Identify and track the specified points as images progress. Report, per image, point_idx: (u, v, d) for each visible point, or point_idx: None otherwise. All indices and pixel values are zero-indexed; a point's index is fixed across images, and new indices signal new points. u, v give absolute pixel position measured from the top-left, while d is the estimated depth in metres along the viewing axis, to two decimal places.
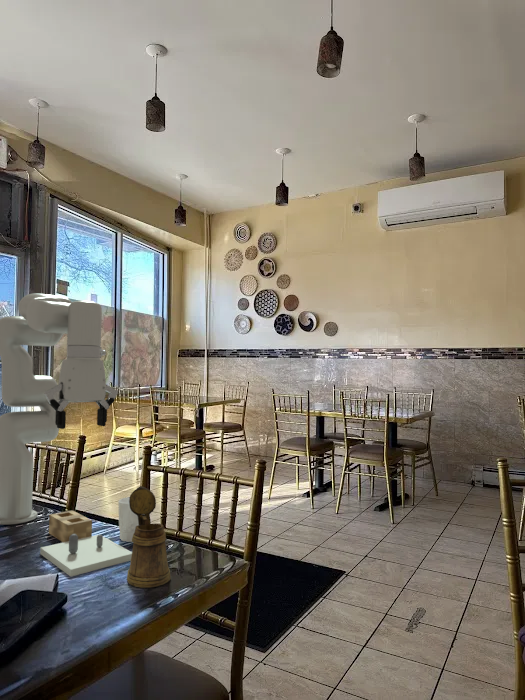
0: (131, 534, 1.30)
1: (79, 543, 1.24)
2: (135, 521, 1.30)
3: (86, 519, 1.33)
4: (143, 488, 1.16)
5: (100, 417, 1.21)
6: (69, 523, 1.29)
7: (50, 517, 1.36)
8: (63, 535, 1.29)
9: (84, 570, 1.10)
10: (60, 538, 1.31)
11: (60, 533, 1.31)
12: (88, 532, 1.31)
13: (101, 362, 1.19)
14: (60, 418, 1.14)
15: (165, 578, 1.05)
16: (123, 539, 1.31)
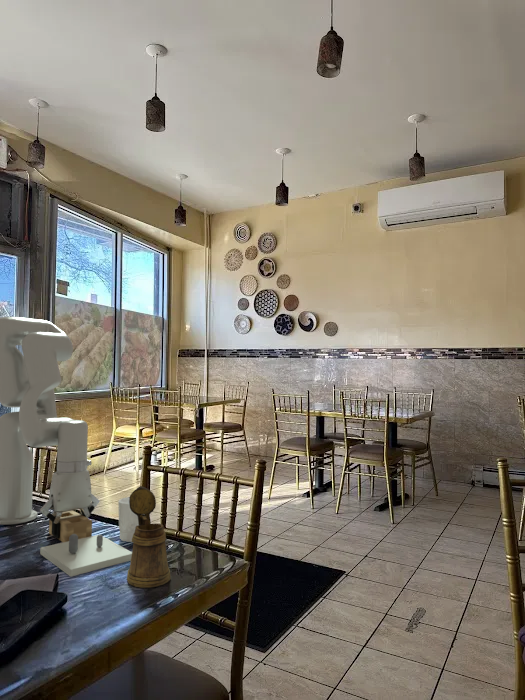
0: (131, 534, 1.30)
1: (79, 543, 1.24)
2: (135, 521, 1.30)
3: (86, 519, 1.33)
4: (143, 488, 1.16)
5: None
6: (69, 523, 1.29)
7: None
8: (63, 535, 1.29)
9: (84, 570, 1.10)
10: (60, 538, 1.31)
11: (60, 533, 1.31)
12: (88, 532, 1.31)
13: (87, 473, 1.36)
14: (56, 529, 1.31)
15: (165, 578, 1.05)
16: (123, 539, 1.31)
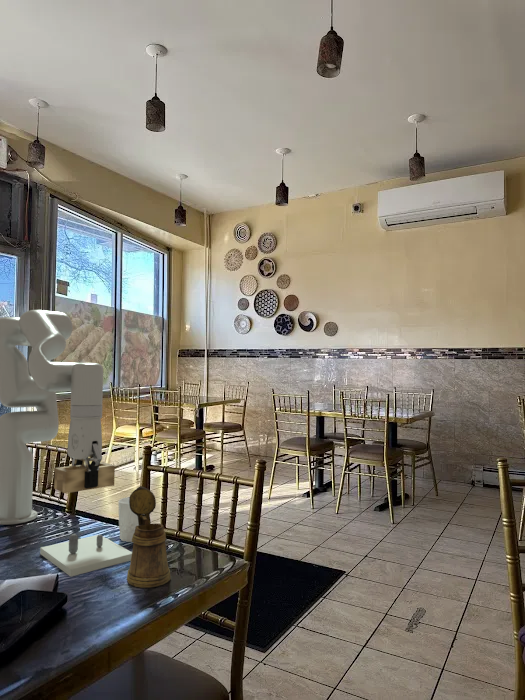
0: (131, 534, 1.30)
1: (79, 543, 1.24)
2: (135, 521, 1.30)
3: None
4: (143, 488, 1.16)
5: None
6: (108, 465, 1.27)
7: (69, 473, 1.19)
8: (105, 479, 1.25)
9: (84, 570, 1.10)
10: None
11: None
12: None
13: None
14: None
15: (165, 578, 1.05)
16: (123, 539, 1.31)
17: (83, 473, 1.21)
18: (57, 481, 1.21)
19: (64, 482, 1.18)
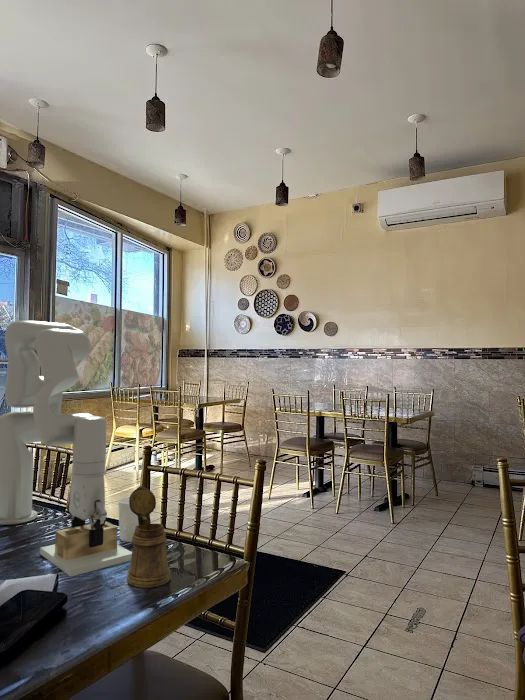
0: (131, 534, 1.30)
1: None
2: (135, 521, 1.30)
3: None
4: (143, 488, 1.16)
5: None
6: (111, 526, 1.22)
7: (70, 539, 1.14)
8: (108, 542, 1.20)
9: (84, 570, 1.10)
10: (99, 549, 1.19)
11: None
12: None
13: None
14: None
15: (165, 578, 1.05)
16: (123, 539, 1.31)
17: (85, 538, 1.16)
18: (58, 545, 1.17)
19: (65, 548, 1.14)
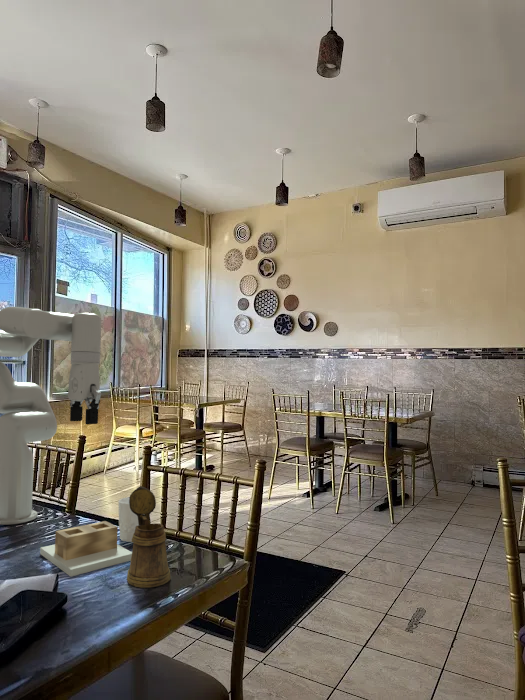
0: (131, 534, 1.30)
1: None
2: (135, 521, 1.30)
3: (100, 522, 1.25)
4: (143, 488, 1.16)
5: (78, 413, 1.39)
6: (111, 526, 1.22)
7: (70, 539, 1.14)
8: (108, 542, 1.20)
9: (84, 570, 1.10)
10: (99, 549, 1.19)
11: (98, 544, 1.19)
12: None
13: None
14: None
15: (165, 578, 1.05)
16: (123, 539, 1.31)
17: (85, 538, 1.16)
18: (58, 545, 1.17)
19: (65, 548, 1.14)
